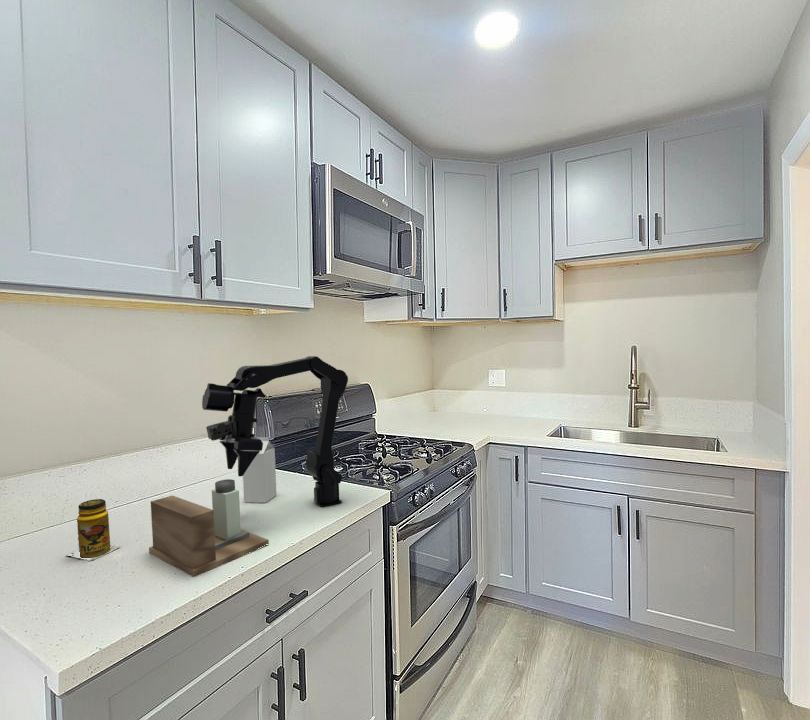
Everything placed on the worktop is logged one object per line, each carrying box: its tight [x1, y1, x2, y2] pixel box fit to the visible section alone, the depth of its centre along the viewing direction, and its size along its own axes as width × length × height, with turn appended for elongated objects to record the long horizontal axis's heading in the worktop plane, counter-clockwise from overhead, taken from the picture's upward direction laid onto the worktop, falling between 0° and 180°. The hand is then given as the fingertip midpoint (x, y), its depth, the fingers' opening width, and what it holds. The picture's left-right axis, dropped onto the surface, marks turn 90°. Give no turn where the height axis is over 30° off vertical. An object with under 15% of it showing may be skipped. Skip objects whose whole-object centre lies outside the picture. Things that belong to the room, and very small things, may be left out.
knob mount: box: [148, 494, 270, 577], centre depth 109 cm, size 18×20×12 cm
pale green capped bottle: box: [211, 478, 242, 540], centre depth 113 cm, size 4×6×13 cm
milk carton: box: [242, 436, 278, 504], centre depth 144 cm, size 7×7×19 cm
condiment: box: [70, 498, 120, 562], centre depth 110 cm, size 7×8×12 cm
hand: (234, 472), depth 123 cm, fingers open, 9 cm apart
